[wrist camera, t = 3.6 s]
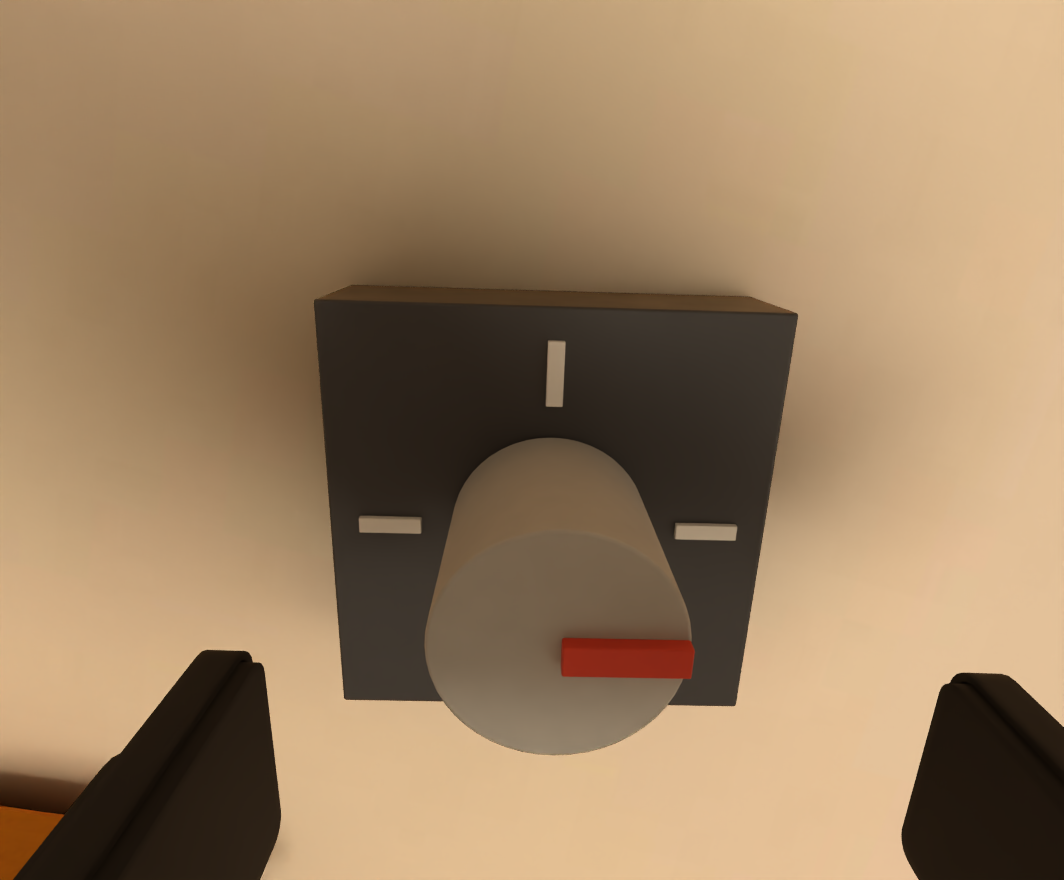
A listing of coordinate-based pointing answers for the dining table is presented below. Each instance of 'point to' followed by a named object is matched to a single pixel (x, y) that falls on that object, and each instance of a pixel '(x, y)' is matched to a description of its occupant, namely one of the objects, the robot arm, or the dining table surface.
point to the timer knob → (555, 604)
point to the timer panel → (544, 412)
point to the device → (22, 837)
